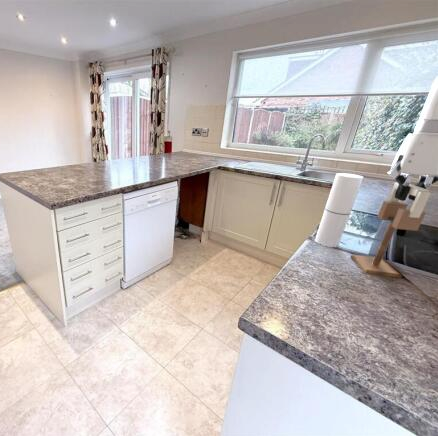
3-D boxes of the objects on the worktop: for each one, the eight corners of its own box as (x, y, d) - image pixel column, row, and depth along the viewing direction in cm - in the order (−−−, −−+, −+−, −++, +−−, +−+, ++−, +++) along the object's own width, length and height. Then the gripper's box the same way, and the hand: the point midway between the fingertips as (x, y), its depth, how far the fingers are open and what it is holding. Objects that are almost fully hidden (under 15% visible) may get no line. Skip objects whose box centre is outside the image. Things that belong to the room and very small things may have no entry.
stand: (382, 261, 79) (403, 215, 72) (401, 278, 71) (427, 227, 64) (350, 257, 81) (368, 212, 74) (365, 273, 73) (387, 223, 66)
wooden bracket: (394, 218, 74) (409, 182, 69) (419, 231, 65) (438, 191, 60) (375, 216, 75) (389, 181, 70) (397, 229, 66) (415, 190, 62)
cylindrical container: (310, 240, 91) (331, 174, 82) (322, 236, 94) (343, 172, 85) (331, 249, 85) (356, 178, 76) (342, 244, 88) (368, 176, 79)
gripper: (464, 128, 61) (431, 198, 69) (388, 127, 65) (364, 193, 72) (495, 129, 55) (455, 206, 62) (408, 128, 58) (379, 201, 65)
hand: (406, 199), depth 67 cm, fingers closed on wooden bracket, 2 cm apart
